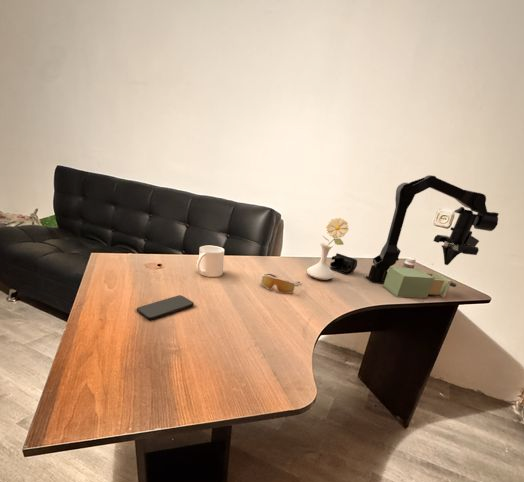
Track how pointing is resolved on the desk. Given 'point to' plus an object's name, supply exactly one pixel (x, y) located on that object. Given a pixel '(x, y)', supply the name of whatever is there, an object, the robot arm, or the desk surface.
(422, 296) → the cabinet
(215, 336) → the desk surface
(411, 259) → the pill bottle
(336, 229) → the flower in vase
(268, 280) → the sunglasses
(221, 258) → the mug
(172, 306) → the smartphone
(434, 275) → the drawer
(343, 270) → the end cap
